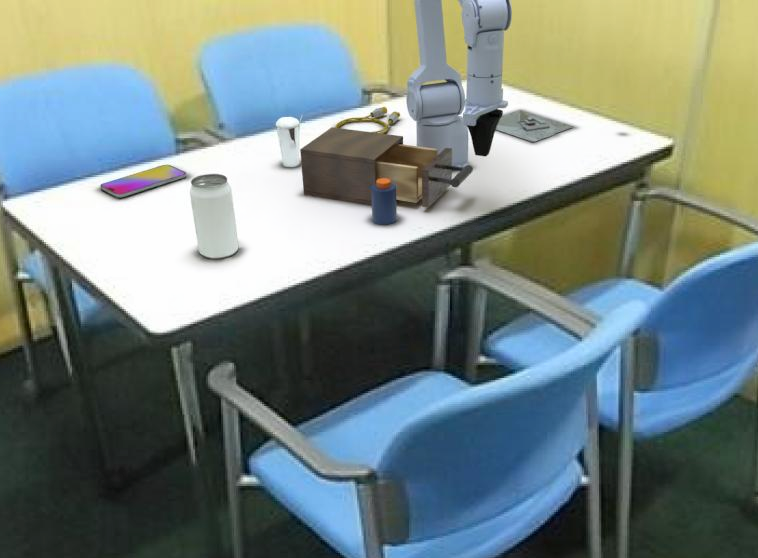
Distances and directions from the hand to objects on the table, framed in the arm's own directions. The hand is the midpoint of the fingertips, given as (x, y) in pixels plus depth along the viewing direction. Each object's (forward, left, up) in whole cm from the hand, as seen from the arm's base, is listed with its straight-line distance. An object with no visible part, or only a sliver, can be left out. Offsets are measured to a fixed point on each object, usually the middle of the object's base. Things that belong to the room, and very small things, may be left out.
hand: (481, 154), depth 161 cm
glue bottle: (+17, -2, -9) cm, 20 cm away
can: (+46, -1, -10) cm, 47 cm away
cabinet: (+17, -17, -9) cm, 26 cm away
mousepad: (-31, -30, -10) cm, 44 cm away
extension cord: (+3, -47, -10) cm, 48 cm away
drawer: (+8, -8, -9) cm, 15 cm away
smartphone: (+53, -36, -9) cm, 65 cm away
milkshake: (+24, -33, -10) cm, 42 cm away
